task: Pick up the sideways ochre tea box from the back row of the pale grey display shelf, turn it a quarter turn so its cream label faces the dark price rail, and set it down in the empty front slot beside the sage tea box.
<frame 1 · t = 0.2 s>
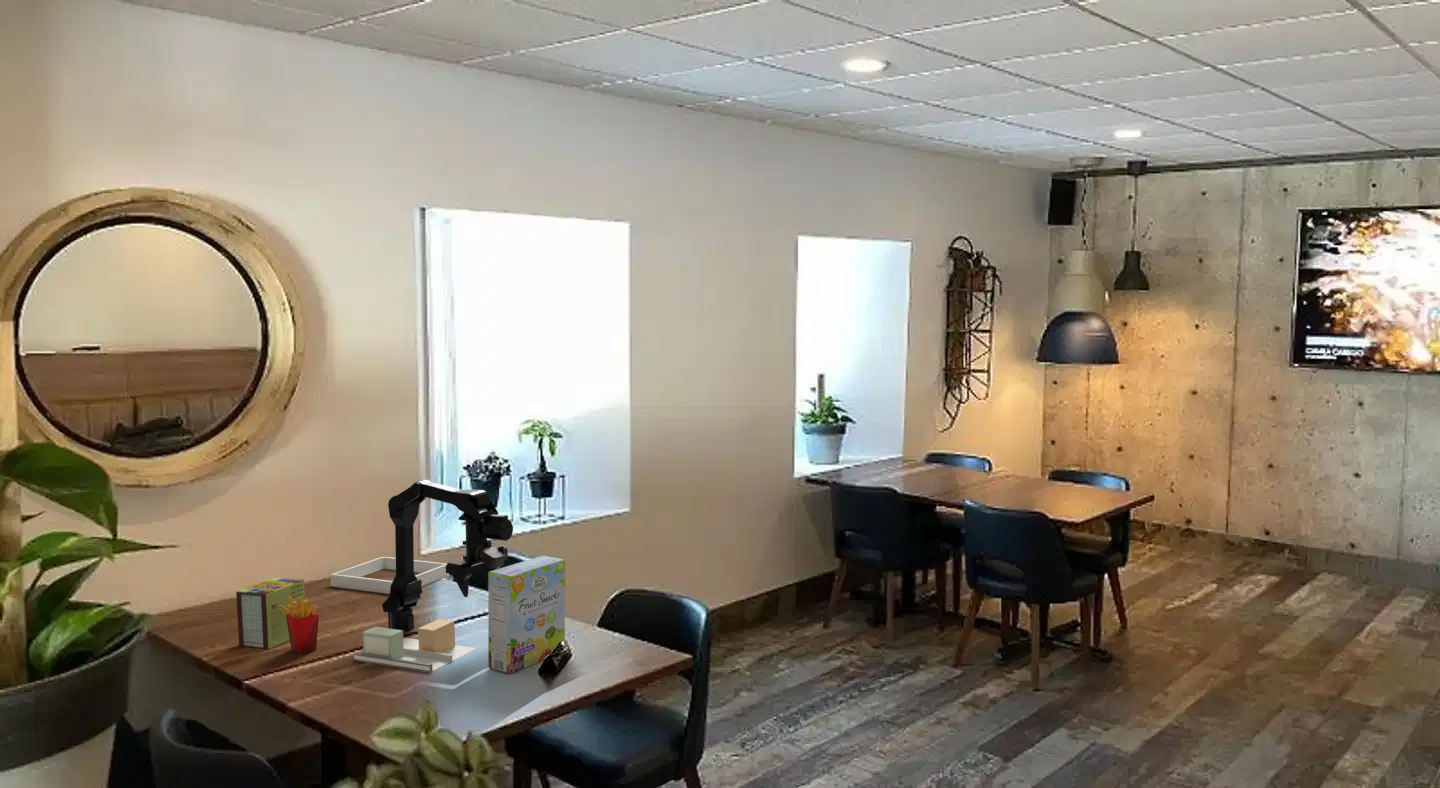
hand: (477, 592, 301), 14 cm above the table, fingers open, 9 cm apart
french fries: (301, 652, 296), on the table
protein box: (273, 640, 306), on the table
snack box: (528, 661, 288), on the table
sage tea box: (383, 657, 288), point 1 cm above the table, touching shelf
serving tray rim: (391, 580, 367), on the table
shelf: (416, 657, 291), on the table
ochre tea box: (437, 649, 294), point 1 cm above the table, touching shelf
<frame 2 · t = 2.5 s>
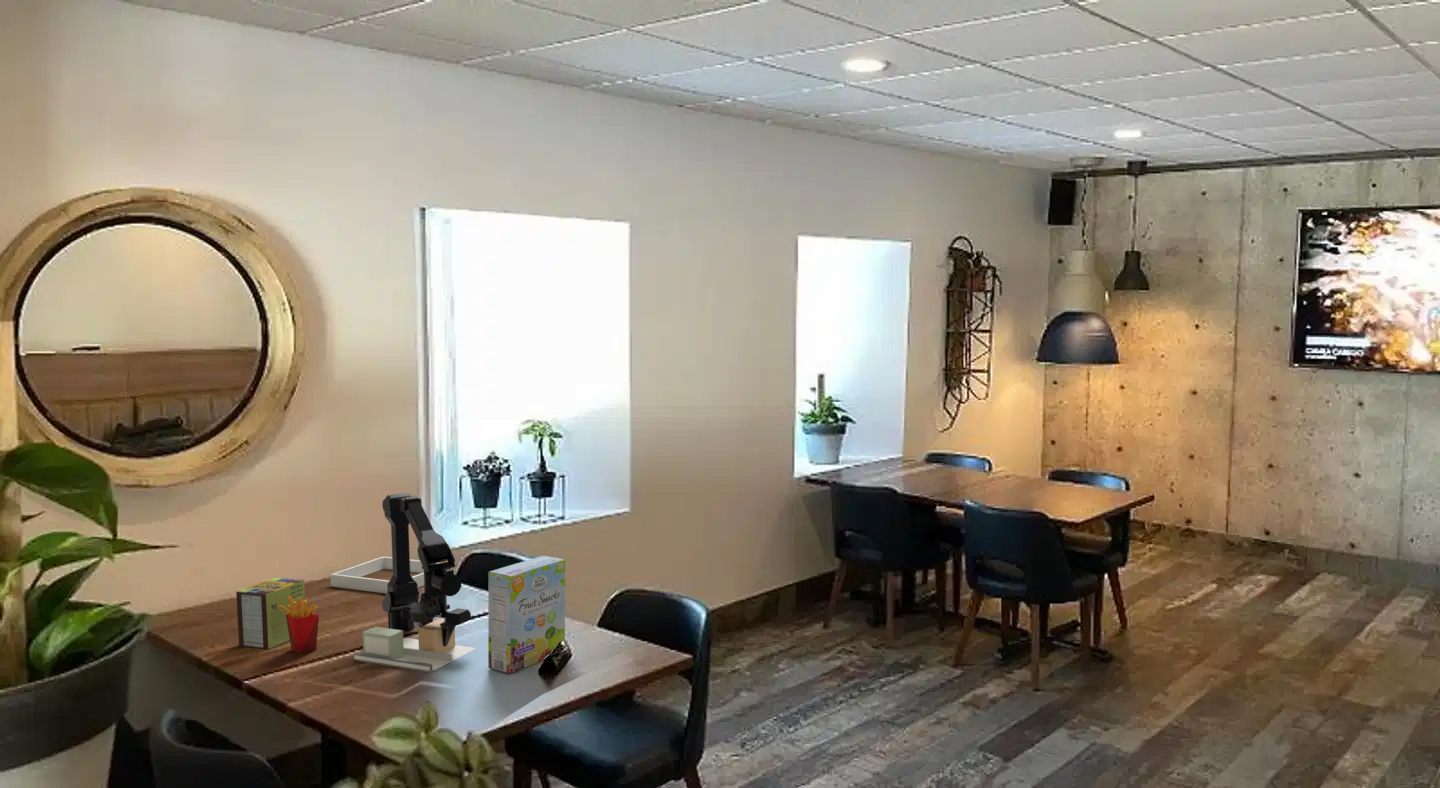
hand: (436, 644, 294), 2 cm above the table, fingers closed on ochre tea box, 5 cm apart
ochre tea box: (437, 649, 294), point 1 cm above the table, touching gripper, shelf
everything else where it was.
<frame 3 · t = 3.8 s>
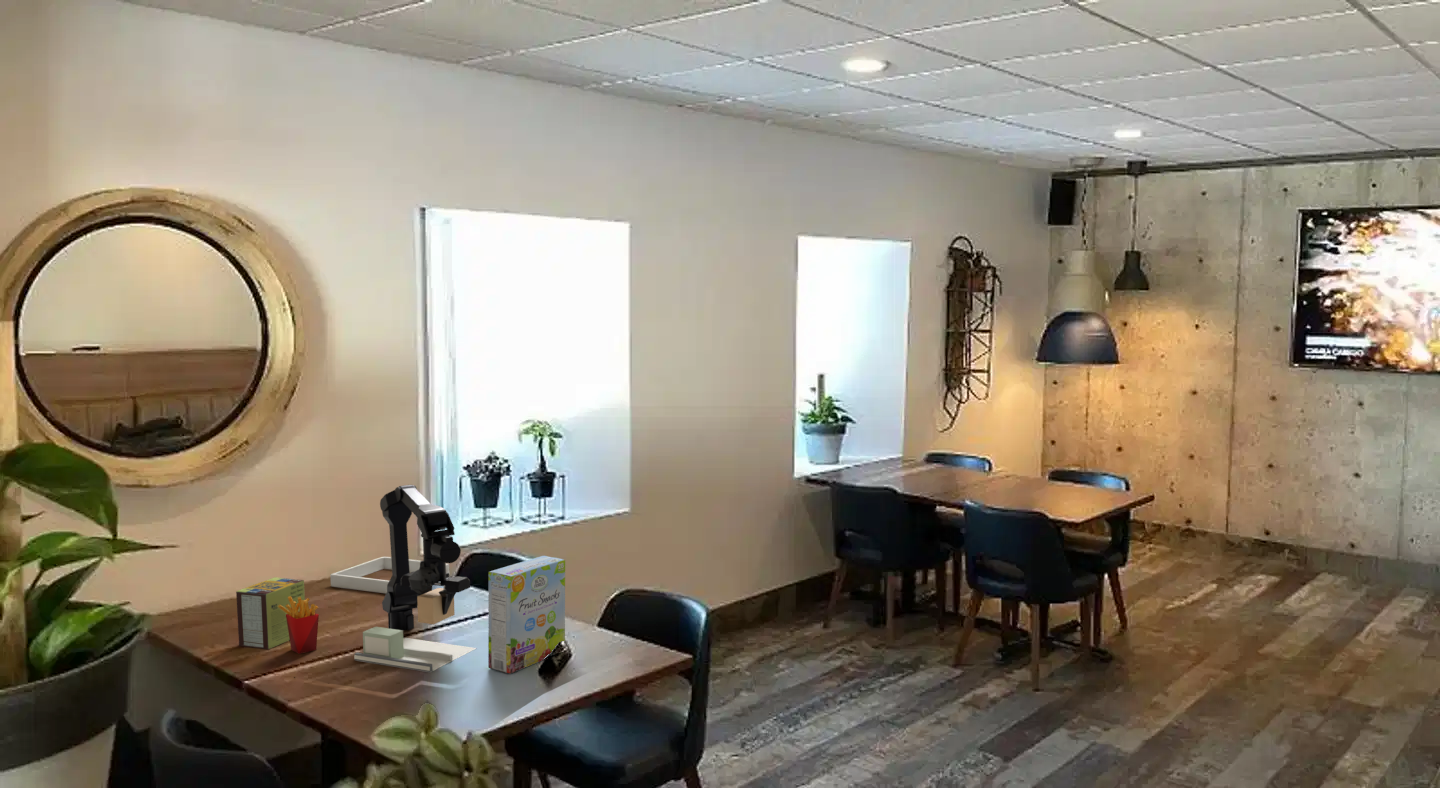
hand: (436, 613, 293), 11 cm above the table, fingers closed on ochre tea box, 5 cm apart
ochre tea box: (436, 618, 293), point 9 cm above the table, touching gripper
everything else where it was.
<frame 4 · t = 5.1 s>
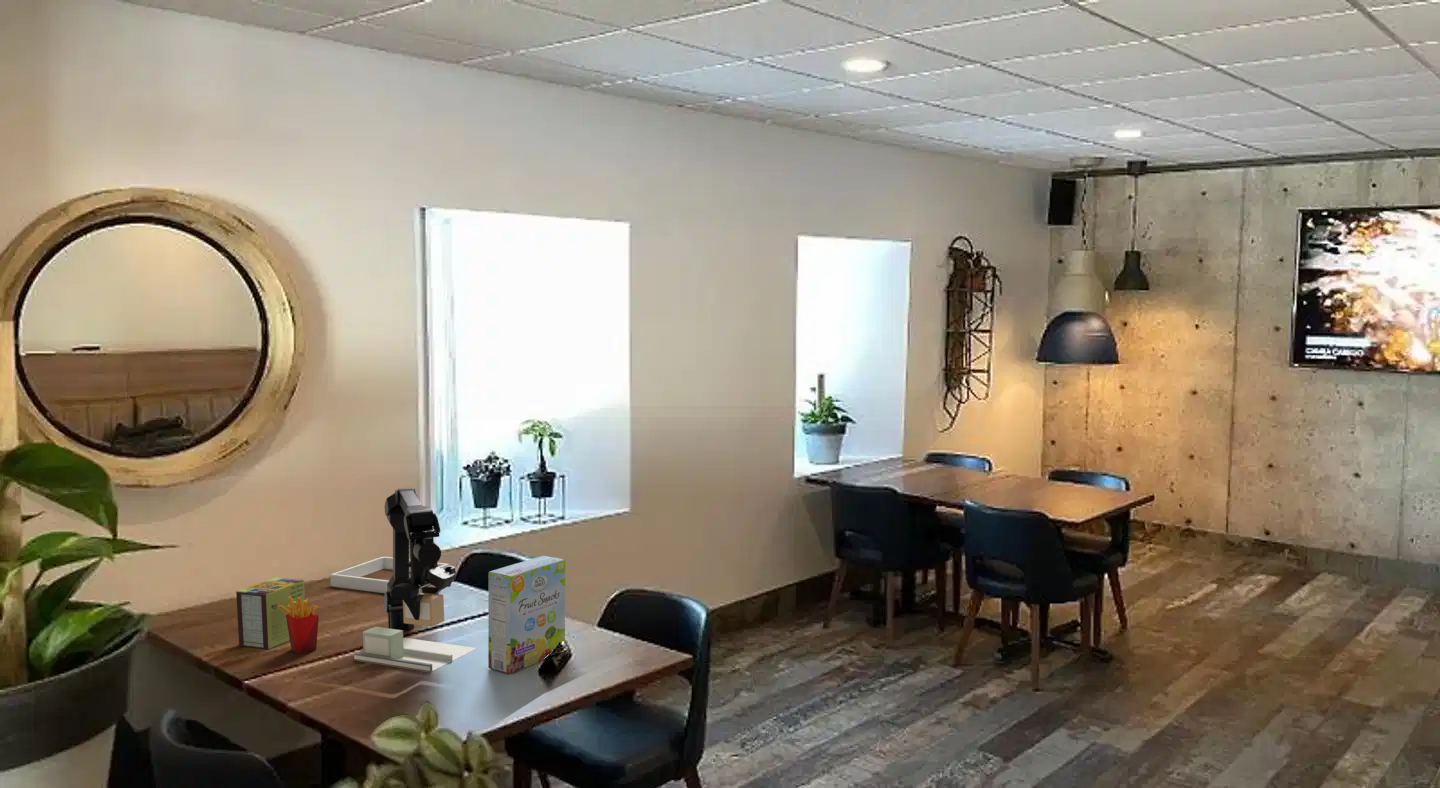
hand: (423, 616, 284), 13 cm above the table, fingers closed on ochre tea box, 5 cm apart
ochre tea box: (424, 622, 284), point 11 cm above the table, touching gripper
everything else where it was.
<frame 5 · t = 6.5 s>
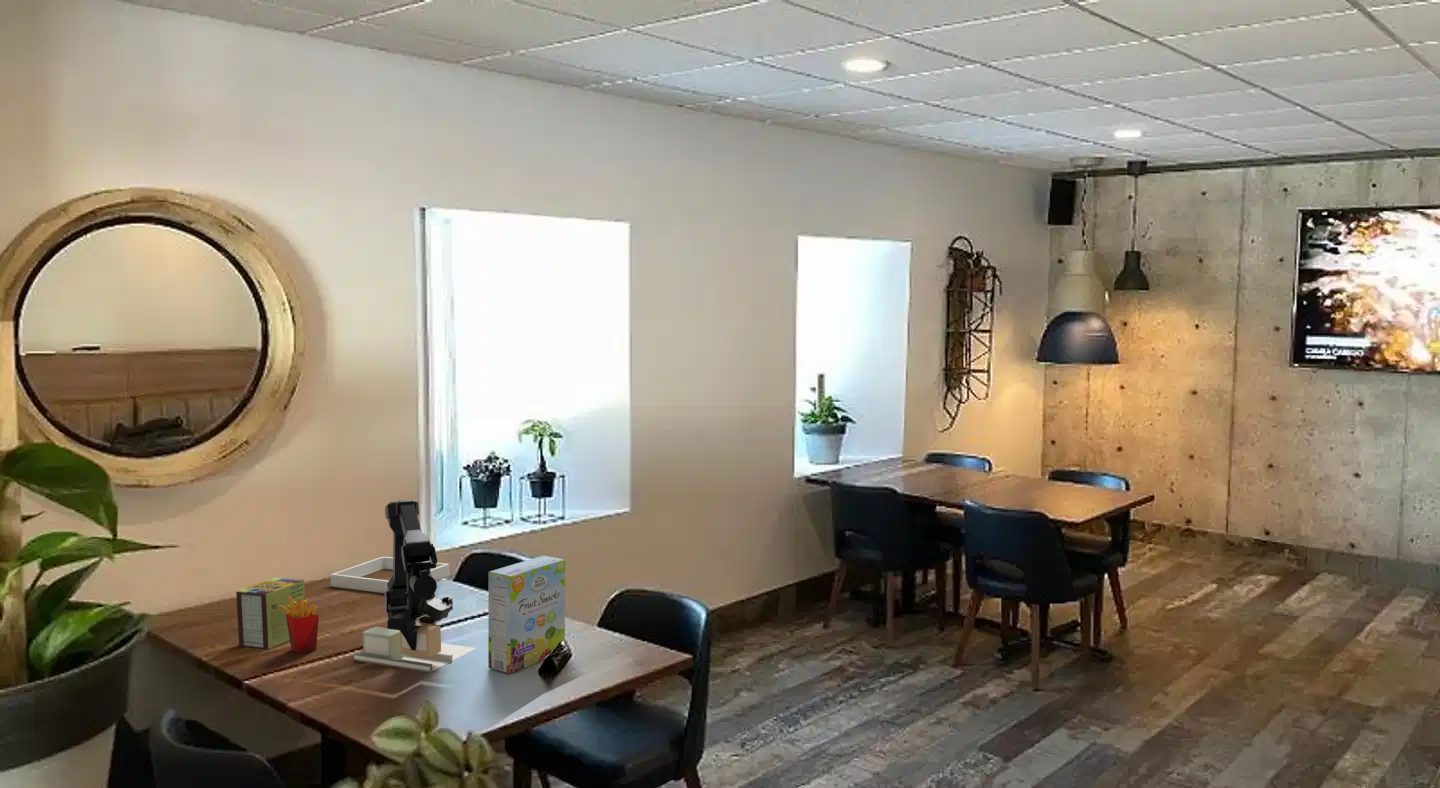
hand: (420, 647, 283), 5 cm above the table, fingers closed on ochre tea box, 5 cm apart
ochre tea box: (420, 652, 284), point 4 cm above the table, touching gripper
everything else where it was.
when the fingers open (4 cm above the table, at t = 7.6 s): ochre tea box drops 1 cm, resting on shelf.
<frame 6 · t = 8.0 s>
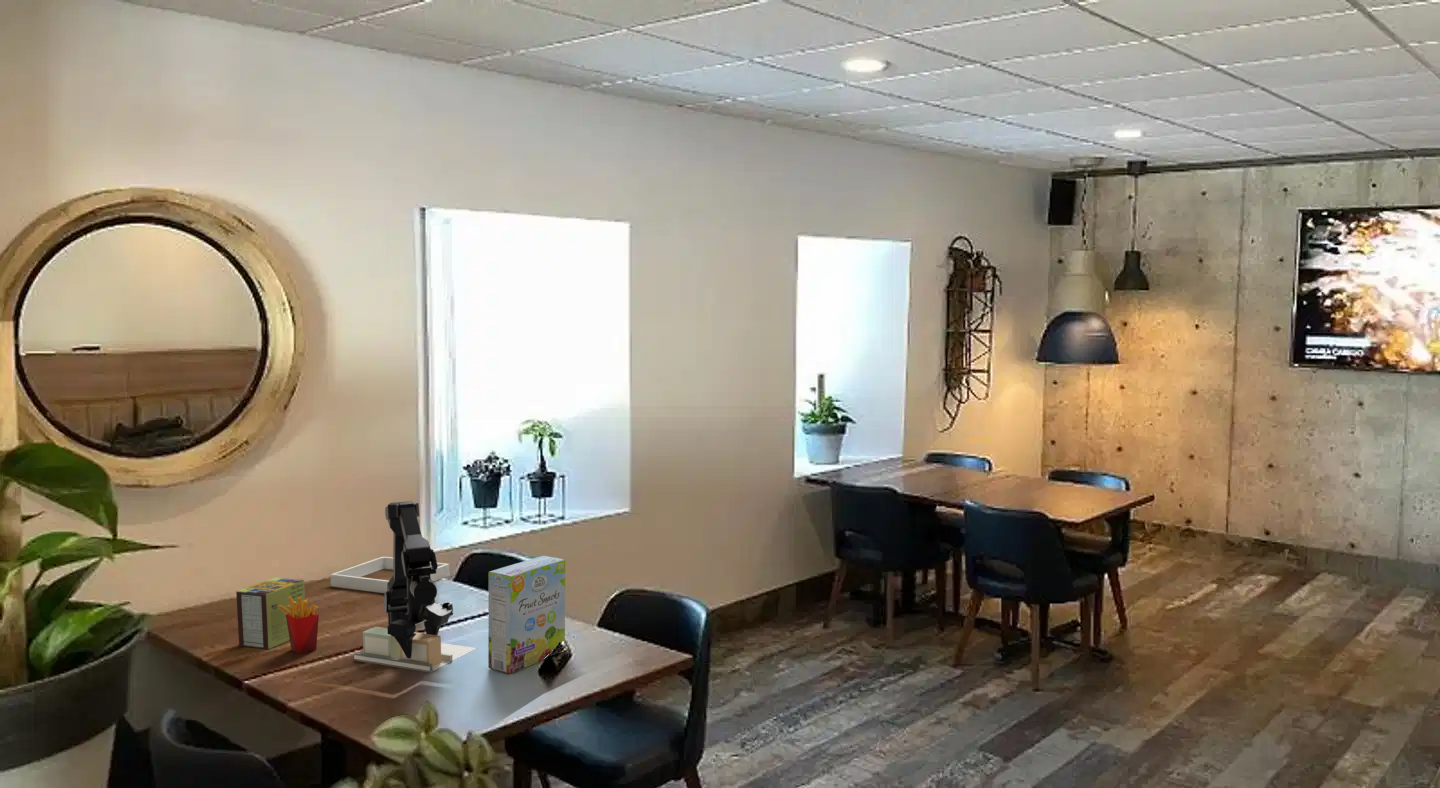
hand: (420, 652, 283), 4 cm above the table, fingers open, 9 cm apart
ochre tea box: (421, 662, 284), point 1 cm above the table, touching shelf
everything else where it was.
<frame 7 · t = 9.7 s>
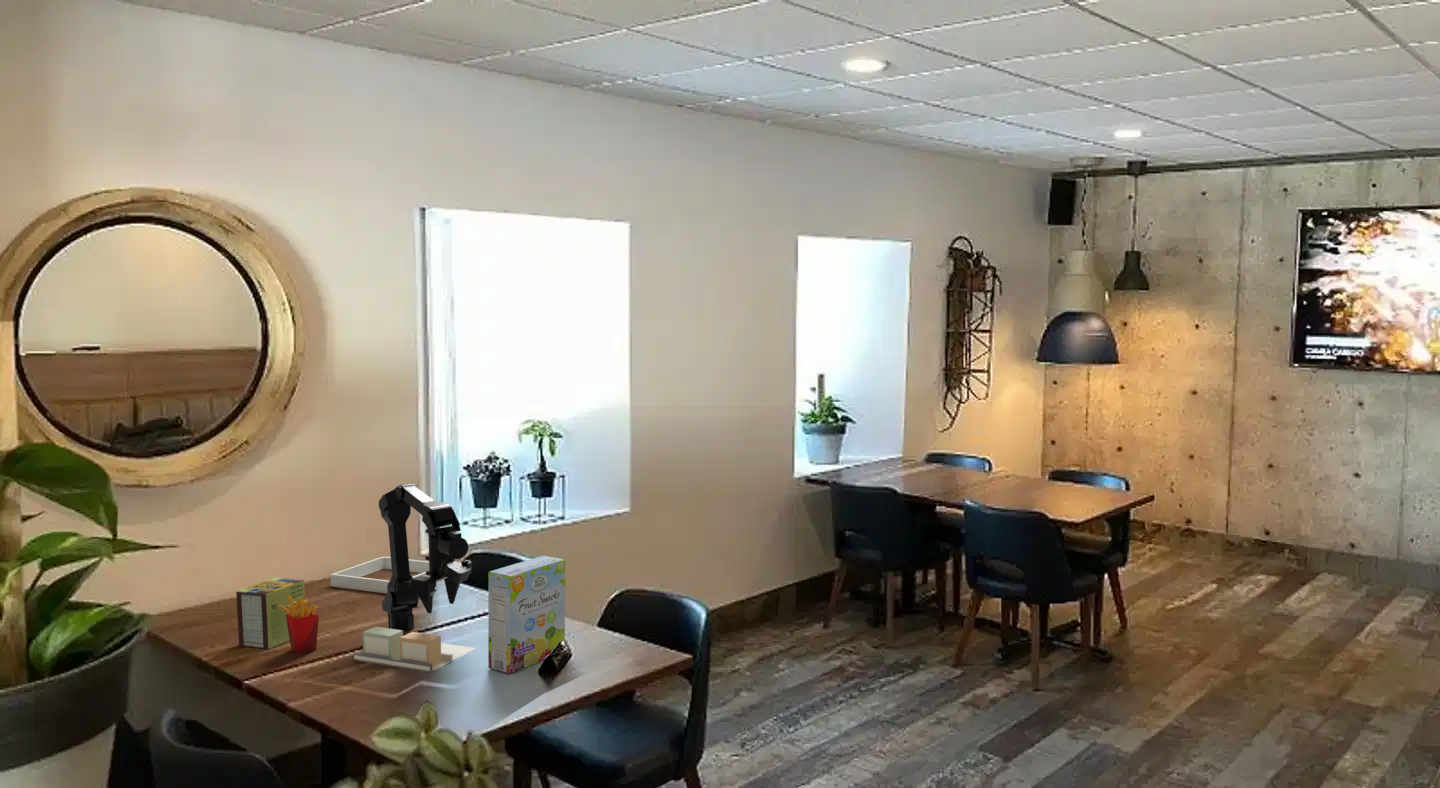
hand: (440, 608, 295), 12 cm above the table, fingers open, 9 cm apart
nothing on the table moved.
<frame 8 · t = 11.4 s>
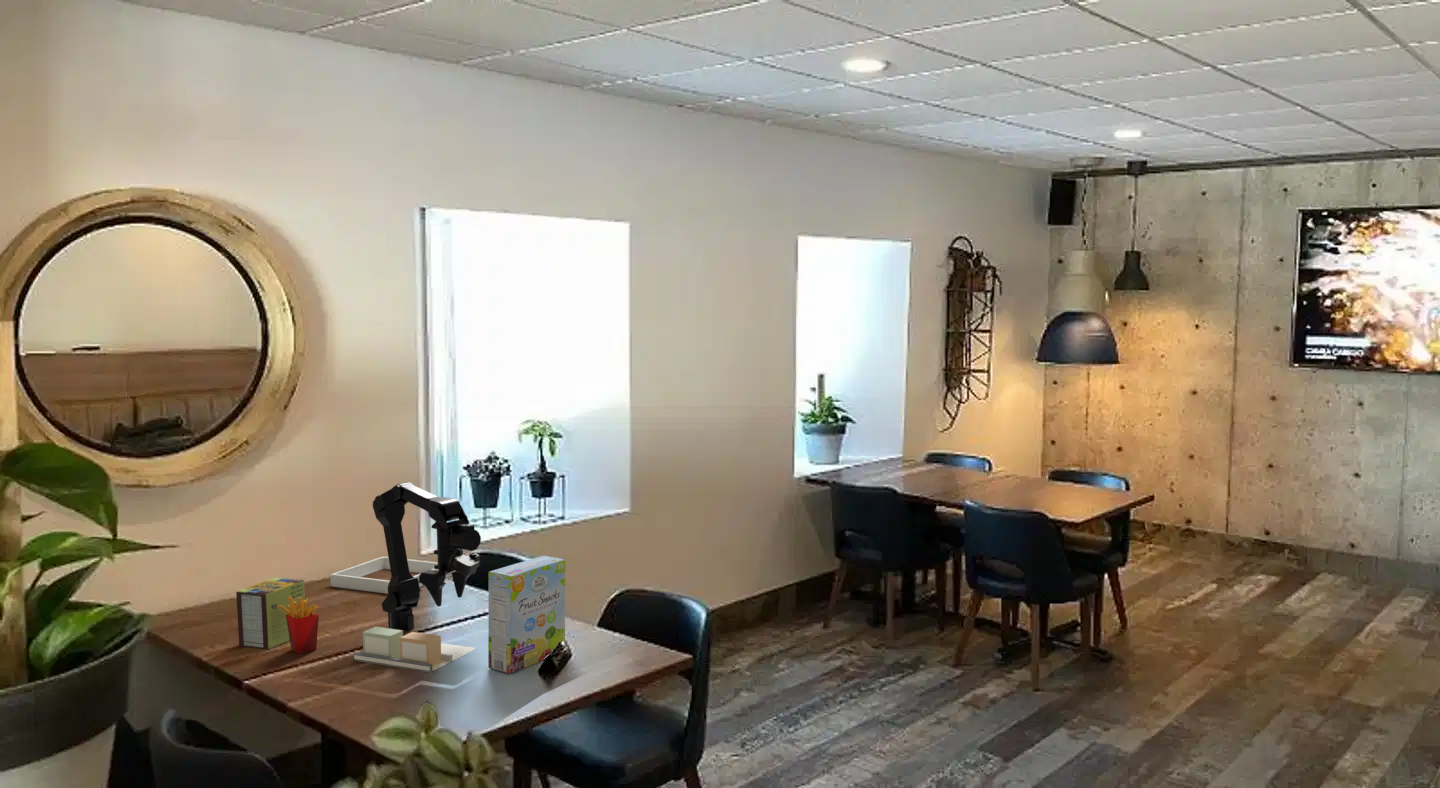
hand: (449, 601, 300), 12 cm above the table, fingers open, 9 cm apart
nothing on the table moved.
at the end: ochre tea box 0.3 cm from the target spot, point 0.8 cm above the table; ochre tea box tilted 0°; the gripper is holding nothing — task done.
